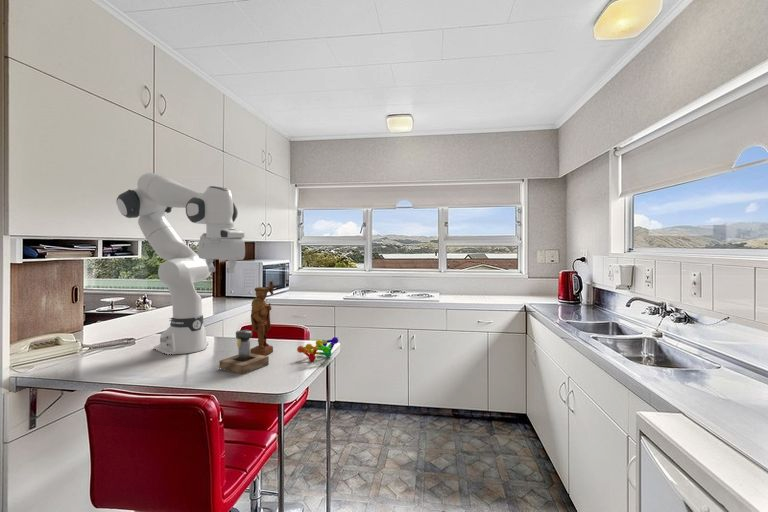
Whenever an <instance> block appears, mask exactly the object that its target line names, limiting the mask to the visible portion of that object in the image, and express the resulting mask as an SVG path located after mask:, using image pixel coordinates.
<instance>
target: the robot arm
mask: <svg viewBox="0 0 768 512" xmlns="http://www.w3.org/2000/svg"><path fill="white" fill-rule="evenodd" d="M136 184H137V185H136V186H137V188H134V189H128V190H125V191H124V192H122V193H120V194H119V195H117V197H116V206H117V209H118V210H119V212H120V213H121V215H122V216H124V217H125V218H128V219H133V218H134V219H135V218H138V220H137V221H138V222H137V223H138V226H139V229H140V231H141V232H142V234H143V236H144V237H145V240H146V241H147V243H148V244H149V245H150V246H151V248H152V249H153V251H154V252H155V254H156V255H157V256H159V257H160V258H161V259H163V260H165V261H164V262H162V263H161V264H160V265H159V266H158V270H157V275H158V279H159V280H160V282H161V283H163V284H164V285H165V286H166V287H167V289H168V292H169V294H170V298H171V302H172V305H171V306H172V317H169V322H170V324H169V327H167V329H165V330H164V331H163V332H162V333H161V334H160V336H159V337H160V338H159V344H157V345H155V346H153V349H154V350H155V349H156V351H157V350H158V351H157V352H159V353H162V354H164V353H165V354H164V355H166V354H167V355H166V356H169V354H170V355H171V354H172V355H179V354H180V355H181V354H191V353H197V352H200V351H203V350H205V349H208V345H209V341H207V334H206V327H205V326H204V315H203V308H202V307H203V302H202V297H201V295H200V294H199V293H198V292H197V290H196V288H195V285H194V283H199V282H202V281H204V280H206V279H208V278H209V277H210V276H211V274H212V273H215V272H216V266H214V263H213V262H214V260H223V261H224V260H225V261H227V260H228V264H229V265H228V267H226V273H227V274H233V273H235V267H236V265H237V261H242V260H244V259H245V256H246V245H245V241H244V238H245V232H244V231H243V230H240V229H237V228H236V227H234V226H235V225H234V222H235V221H236V219H237V217H238V212H239V211H238V207H237V205H236V204H235V202H234V201H233V200H234V199H233V195H232V191H231V189H229V188H227V187H222V186H215V185H214V186H213V185H210V186H208V187H207V188H206V190H205V191H204V192H203V193H201V192H199V191H197V190H194V189H192V188H190V187H188V186H186V185H184V184H182V183H180V182H178V181H176V180H175V179H173V178H170V177H168V176H165V175H163V174H158V173H154V172H153V173H152V172H148V173H147V172H146V173H144V174H141V176H139V178H138V180H137V183H136ZM173 208H179V209H182V208H184V209H185V215H186V217H187V219H188V220H189V221H190V222H191V223H194V224H199V225H205V226H206V227H205V229H206V232H203V233H202V235H201V236H200V238H199V241H198V247H197V252H195V251H194V250H193V249H192V248H191V247H190V246H189V245H187V244H186V242H184V241H183V239H182V238H181V237H180V236H179V234H178V233H177V231H176V230H175V229H174V227H173V226H172V225H171V223H170V222H169V221H168V219H167V218H166V214H165V213H167V214H169V213H171V212H172V209H173ZM172 355H171V356H172Z"/></svg>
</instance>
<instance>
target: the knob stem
mask: <svg viewBox="0 0 768 512" xmlns="http://www.w3.org/2000/svg"><path fill="white" fill-rule="evenodd" d="M252 337H253V330H252V329H251V330H250V329H241V330H237V331H236V332H235V339H237V340H236V342H237V343H236V344H237V347H238V348H237V349H238V352H237V353H238V354H237V355H238V356H239V361H241V362H245V361H248V360H250V350H251V338H252Z"/></svg>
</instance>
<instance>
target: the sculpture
mask: <svg viewBox="0 0 768 512" xmlns="http://www.w3.org/2000/svg"><path fill="white" fill-rule="evenodd" d="M274 288H275V284H274V282H273V280H269V283H268V286H263V287H261V286H259V287H257V286H256V287H255V288H254V289H253V290H254V291H255V296H256V297H253V299H252V301H251V310H250V321H251V322H250V323H251V330H252V332H256V333H257V338H258V339H257V342H258V344H257V345H256V346H254V347H252V348H250V353H253V354H258V355H263V356H268V355H270V354H271V353H273V352H274V346H273V345H270V344H268V343H267V339H268V337H267V335H268V331H270V330H271V329H272V325H271V317H270V316H271V313H270V312H271V311H272V305H271V302H269V303H268V304H267V302H266V297H267V296H268V292H269V293H270V296H272V295H274Z"/></svg>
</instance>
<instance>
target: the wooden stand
mask: <svg viewBox="0 0 768 512" xmlns="http://www.w3.org/2000/svg"><path fill="white" fill-rule="evenodd" d="M218 362H219V363H218V364H219V369H220V368H221V369H220V370H222V369H225V370H224V371H226V370H228V371H227V372H231V371H232V372H233V373H235V372H237V373H236V374H240V373H242V374H241V375H245V374H248V373H250V371H251V372H253V371H256V370H258V369H261V368H263V367H265V365H266V366H269V365H270V364H269V362H270V359H269V356H268V355H267V356H263V355H258V354H253V353H250V360H248V361H245V362H241V361H239V356H238V354H236V355H233V356H229V357H227V358H224V359H223V358H222V359H221V360H219V361H218ZM268 364H269V365H268ZM262 366H263V367H262ZM260 367H261V368H260ZM257 368H258V369H257ZM255 369H256V370H255ZM252 370H253V371H252ZM232 372H231V373H232ZM247 372H248V373H247ZM244 373H245V374H244Z"/></svg>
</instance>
